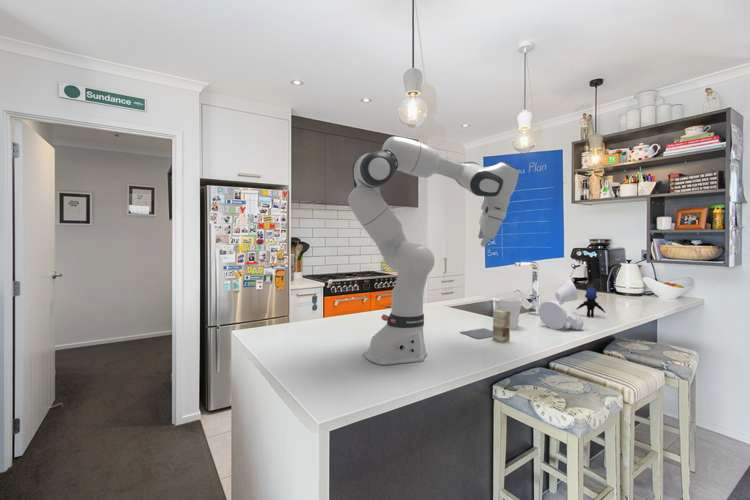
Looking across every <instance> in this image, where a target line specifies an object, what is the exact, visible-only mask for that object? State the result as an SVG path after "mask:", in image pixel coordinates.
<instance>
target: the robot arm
mask: <svg viewBox="0 0 750 500" xmlns="http://www.w3.org/2000/svg"><path fill="white" fill-rule="evenodd" d="M396 171H398V172H402V173H404V174H407V175H410V176H413V177H418V178H425V179H427V178H430V177H432V176H433V175H434V174H435V175H436V174H437V175H441V176H444V177H446V178H450V179H453V180H454V181H456V183H458V185H459V186H460V187H462V188H464V189H466V190H467V191H469V192H470V193H471V194H473V195H474V196H477V197H484V198H483V200H482V204H481V206H480V209H481V210H482V213H481V215H480V218H479V226H480V227H479V228H480V229H479V232H478V239H481V242H480V246H481V247H482V248H485V247H486V246H487V243H489V241H490V239H491V240H494V239H495V238H496V236H497V234H498V231H500V230H499V229H500V227H501V225H502V223H503V221H505V219H506V218H507V217H506V216H507V210H508V207H509V205H510V202H511V201H510V200H511V196H512V195H513V193H514V192H515V189H516V186H517V185H518V180H519V175H520V174H519V173H520V171H519V169H518V168H517V167H516V166H514V165H511V164H509V163H507V162H503V161H500V162H498V163H496V164H494V165H490V166H481V165H480V164H479V163H478V162H475V161H463V162H460V161H456V160H453V159H450V158H448V157H444V156H442V155H440V154H439V152H438V150H437V149H434V148H433V147H432V146H430V145H427V144H425V143H424V142H422V141H417V140H415V139H411V138H407V137H403V136H397V135H396V136H391V137H389V138H388V139H386V140H385V142H384V143H383V145H382V147H381V150H376V151H372V152H368V153H365V154H363V155H361V156H359V158H357V159H356V160H355V161H354V163H353V165H352V179H353V185H354V188H353V189H352V190H351V192H350V193H349V195H348V198H347V201H348V205H349V207H350V209H351V211H352V212H353V214H354V216H355V217H356V219H357V220H358V222H359V224H360V225H361V226H362V228H363V229H364V230H365V231H366V233H367V234H368V235H369V236H370V238H371V239H372V240H373V242H374V243H375V245H376V246H377V248H378V250H379V251H380V255H382V258H383V260H384V263H385V264H386V266H387V267H388V268H389V269H390V270H392V271H393V272H396V273H397V276H396V280H395V285H394V287H393V289H392V290H391V303H390V304H391V305H390V306H391V309H390V310H391V312H390V314H389V315H387V314H382V315H381V320H382V321H384V322H386V324H385V325H384V326H383V327H382V328H381V329H380V330H378V331H377V332H376V333H375V334H373V336H372V337H371V339H370V342H369V348H368V349H365V350H363V354H362V355H363V357H364V358H365V359H366V360H368V361H369V362H372V363H374V364H376V365H381V366H387V365H396V364H397V365H398V364H407V363H417V362H423V361H424V360H425V357H426V356H427V355H428V352H427V349H426V344H425V339H424V338H425V337H424V326H425V325H424V324H425V314H424V291H425V286H426V282H427V279H428V276H429V274H430V272H431V271H432V270H433V268H434V266H435V255H434V254H433V252H432V251H431V249H429V248H428V247H426V246H424V245H422V244H420V243H413V242H412V243H411V242H410V241H409V240H408V239H407V237H406V235H405V233H404V231H403V227H402V226H403V225H402V223H401V221H400V220H399V218H398V217H397V216H396V214H395V213H394V212H393V210H392V209H391V207H390V206H389V205H388V204H387V202H386V200H384V199H383V197H382V195H381V191H380V187H382V186H385V185H387V183H388V182H389V181H390V180H391V179H392V178H393V176H394V174H395V172H396Z"/></svg>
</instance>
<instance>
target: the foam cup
mask: <svg viewBox="0 0 750 500" xmlns="http://www.w3.org/2000/svg"><path fill="white" fill-rule="evenodd" d="M498 304H499V310H500V309H502V310H507V311H510V330H518V325H519V324H518V323H519V319H520V312H521V307H522V299H521V298H519V297H508V296H504V297H502V296H501V297H499V299H498Z"/></svg>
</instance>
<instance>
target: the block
mask: <svg viewBox="0 0 750 500" xmlns="http://www.w3.org/2000/svg"><path fill="white" fill-rule="evenodd" d="M492 313H493V315H492V317H493V318H492V331H493V337H492V341H495V342H497V343H500V344H504V343H508V342H510V340H511V339H510V338H511V333H510V332H511V329H510V311H507V310H502V309H500V308H499V309H495V310H493V311H492Z"/></svg>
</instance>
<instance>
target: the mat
mask: <svg viewBox="0 0 750 500" xmlns="http://www.w3.org/2000/svg"><path fill="white" fill-rule="evenodd" d="M459 334H461V335H462V334H463V335H466V336H468V337H470V338H473V339H476V340H482V339H487V338H493V330H490V329H487V328H484V327H483V328H477V329H470V330H463V331H459Z"/></svg>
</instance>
